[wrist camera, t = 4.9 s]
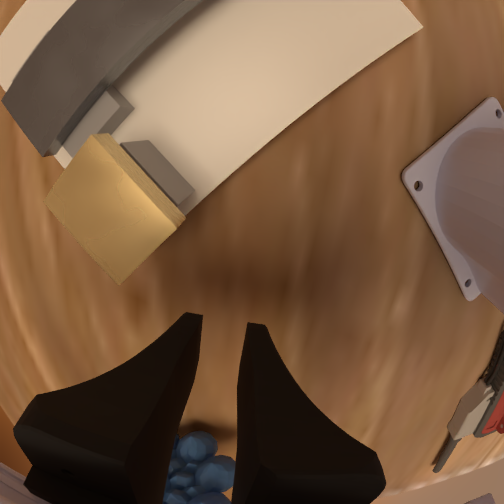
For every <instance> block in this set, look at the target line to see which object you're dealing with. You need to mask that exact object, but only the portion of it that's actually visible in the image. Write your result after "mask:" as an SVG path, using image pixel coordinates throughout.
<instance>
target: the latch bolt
mask: <svg viewBox="0 0 504 504" xmlns="http://www.w3.org/2000/svg"><path fill="white" fill-rule="evenodd" d="M43 202H44V203H45V204H46V206H47V207H48V208H49V209H50V210H51V212H52V213H53V214H54V215H55V216H56V218H57V219H58V220H59V221H60V222H61V224H62V225H63V226H64V227H65V228H66V229H67V231H68V232H69V233H70V234H71V235H72V236H73V237H74V239H75V240H76V241H77V242H78V243H79V244H80V245H81V246H82V248H83V249H84V250H85V251H86V252H87V253H88V254H89V255H90V256H91V257H92V258H93V260H94V261H95V262H96V263H97V264H98V265H99V266H100V267H101V268H102V269H103V270H104V271H105V272H106V273H107V274H108V275H109V276H110V277H111V278H112V279H113V280H114V281H115V282H116V284H117V285H118V286H119V285H120V284H121V283H122V282H123V281H124V280H125V279H126V278H127V277H128V276H129V275H130V274H131V273H132V272H133V271H134V270H135V269H136V268H137V267H138V266H139V265H140V264H141V263H142V262H143V261H144V260H145V259H146V258H147V257H148V256H149V255H150V254H151V253H152V252H153V251H154V250H155V249H156V248H157V247H158V246H159V245H161V244H162V243H163V242H164V241H165V240H166V239H167V238H168V237H169V236H170V235H171V234H172V233H173V232H174V231H175V230H176V229H177V228H178V227H179V226H180V225H181V224H182V222H183V221H184V220H185V219H186V217H185V216H184V214H183V213H182V212H181V211H180V210H179V209H178V208H177V207H176V206H175V205H174V204H173V203H172V202H171V201H170V200H169V198H168V197H167V196H166V195H165V194H164V193H163V192H162V191H161V190H160V189H159V188H158V187H157V186H156V184H155V183H154V182H153V181H152V180H151V179H150V178H149V177H148V176H147V175H146V174H145V173H144V171H143V170H142V169H141V168H140V167H139V166H138V165H137V164H136V163H135V162H134V161H133V159H132V158H131V157H130V156H129V155H128V154H127V153H126V152H125V151H124V150H123V149H122V147H121V146H120V145H119V144H118V143H117V142H116V141H115V140H114V139H113V137H112V136H111V135H110V134H109V133H104V134H91V135H90V137H89V138H88V139H87V140H86V142H85V143H84V144H83V146H82V147H81V148H80V149H79V151H78V152H77V153H76V155H75V156H74V157H73V159H72V160H71V162H70V163H69V164H68V166H67V167H66V168H65V170H64V171H63V173H62V174H61V176H60V177H59V179H58V180H57V181H56V183H55V184H54V186H53V187H52V189H51V190H50V192H49V194H48V195H47V197H46V198H45V200H44V201H43Z"/></svg>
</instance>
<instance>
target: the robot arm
mask: <svg viewBox="0 0 504 504" xmlns="http://www.w3.org/2000/svg"><path fill="white" fill-rule="evenodd" d="M496 111H497V114H498V116H496ZM402 181H403V183H404V185H405V186H406V188H407V189H408V191H409V193H410V194H411V196H412V198H413V199H414V201H415V202H416V204H417V206H418V208H419V209H420V211H421V213H422V214H423V216H424V218H425V220H426V221H427V223H428V225H429V227H430V228H431V230H432V232H433V234H434V236H435V238H436V240H437V241H438V243H439V245H440V247H441V249H442V251H443V253H444V255H445V257H446V259H447V261H448V263H449V265H450V267H451V269H452V271H453V273H454V275H455V277H456V280H457V282H458V284H459V286H460V288H461V291H462V293H463V295H464V297H465V298H466V299H467V300H468V301H472V300H474V299H475V298H476V297H477V296H478V295H479V294H480V293H482V294H483V295H484V296H485V297H486V298H487V299H488V300H489V301H490V302H492V303H493V304H494V305H495V306H496V307H497V308H498V309H499V310H500V311H501V312H502V313H503V314H504V112H503V110H502V108H501V106H500V104H499V102H498V100H497V99H496V98H495V97H488V98H486V99H485V100H484V101H483V102H482V103H481V104H480V105H479V106H477V107H476V108H475V109H474V110H473V111H472V112H471V113H469V114H468V115H467V116H466V117H465V118H464V119H463V120H461V121H460V122H459V123H458V124H457V125H456V126H455V127H453V128H452V129H451V130H450V131H449V132H448V133H447V134H445V135H444V136H443V137H442V138H441V139H440V140H438V141H437V142H436V143H435V144H434V145H432V146H431V147H430V148H429V149H428V150H427V151H425V152H424V153H423V154H422V155H421V156H420V157H418V158H417V159H416V160H415V161H414V162H412V163H411V164H410V165H409V166H408V167H406V168H405V169H404V171H403V173H402ZM416 181H419V188H418V189H417V190H415V189H414V184H415V182H416ZM467 280H468V282H467V283H466V284H465V282H466V281H467ZM202 320H203V315H200V314H194V313H188V312H186V313H184V314H183V315H182V316H181V317H180V318H179V319H178V320H177V321H176V322H175V323H174V324H173V325H172V326H171V327H170V328H169V329H168V330H167V331H166V332H164V333H163V334H162V335H161V336H160V337H159V338H158V339H156V340H155V341H154V342H153V343H152V344H150V345H149V346H148V347H146V348H145V349H144V350H142V351H141V352H140V353H138V354H137V355H136V356H134V357H133V358H131V359H130V360H128V361H126V362H125V363H123V364H121V365H120V366H118V367H116V368H114V369H112V370H111V371H108V372H106V373H104V374H102V375H100V376H98V377H96V378H93V379H91V380H88V381H86V382H83V383H80V384H77V385H74V386H71V387H68V388H64V389H60V390H56V391H52V392H48V393H43V394H38V395H36V396H35V397H34V399H33V400H32V401H31V402H30V403H29V405H28V406H27V408H26V409H25V411H24V412H23V414H22V416H21V417H20V419H19V420H18V422H17V423H16V425H15V426H14V428H13V432H14V436H15V439H16V440H17V442H18V444H19V446H20V447H21V449H22V450H23V452H24V453H25V455H26V456H27V458H28V459H29V461H30V462H31V464H32V465H33V466H32V468H31V470H30V472H29V473H28V475H27V477H25V476H23V475H21V474H19V473H18V472H16V471H14V470H12V469H11V468H9V467H7V466H6V465H4V464H2V463H1V462H0V504H162V503H163V497H164V492H165V486H166V480H167V475H168V470H169V465H170V460H171V455H172V450H173V446H174V441H175V437H176V433H177V430H178V426H179V424H180V421H181V418H182V415H183V412H184V409H185V406H186V403H187V400H188V398H189V395H190V392H191V389H192V386H193V383H194V379H195V375H196V370H197V366H198V361H199V353H200V341H201V330H202ZM385 486H386V480H385V476H384V472H383V469H382V466H381V463H380V461H379V459H378V456H377V454H376V452H375V451H373V450H372V449H370V448H368V447H367V446H365V445H364V444H362V443H360V442H359V441H357V440H356V439H354V438H353V437H351V436H350V435H348V434H347V433H346V432H345V431H343V430H342V429H341V428H339V427H338V426H337V425H336V424H334V423H333V422H332V421H331V420H330V419H329V418H328V417H327V416H326V415H325V414H323V413H322V412H321V411H320V410H319V409H318V408H317V407H316V406H315V405H314V404H313V403H312V401H311V400H310V399H309V398H308V397H307V396H306V394H305V393H304V392H303V391H302V389H301V388H300V387H299V385H298V384H297V383H296V381H295V380H294V378H293V377H292V375H291V374H290V372H289V371H288V369H287V368H286V366H285V364H284V362H283V361H282V359H281V357H280V355H279V353H278V352H277V350H276V348H275V345H274V343H273V341H272V339H271V337H270V334H269V332H268V329H267V327H266V326H265V325H263V324H256V323H249V322H248V323H247V329H246V334H245V340H244V345H243V350H242V356H241V361H240V367H239V376H238V384H237V453H236V463H235V473H234V482H233V492H232V500H231V504H370V503H371V502H372V501H373V500H375V499H376V498H377V497H378V496H379V495H380V494H381V492H382V491H383V490H384V488H385ZM465 504H495V502H494V499H493V497H492V495H491V494H490V493H488V494H486V495H484V496H481V497H479V498H476V499H474V500H471V501H469V502H467V503H465Z"/></svg>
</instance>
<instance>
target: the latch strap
mask: <svg viewBox="0 0 504 504" xmlns="http://www.w3.org/2000/svg"><path fill="white" fill-rule="evenodd" d="M201 1H203V0H76V1H75V2H74V3H73V4H72V5H71V6H70V8H69V9H68V10H67V11H66V12H65V13H64V14H63V15H62V17H61V18H60V19H59V20H58V21H57V22H56V23H55V25H54V26H53V27H52V28H51V30H50V31H49V32H48V33H47V34H46V36H45V37H44V38H43V40H42V41H41V42H40V43H39V45H38V46H37V47H36V49H35V50H34V51H33V53H32V54H31V56H30V57H29V58H28V60H27V61H26V63H25V64H24V65H23V67H22V68H21V70H20V71H19V73H18V74H17V76H16V77H15V79H14V81H13V82H12V84H11V85H10V87H9V89H8V90H7V92H6V93H5V95H4V97H3V99H2V100H1V101H2V103H3V104H4V106H5V107H6V108H7V110H8V111H9V113H10V114H11V115H12V117H13V118H14V120H15V121H16V122H17V124H18V125H19V127H20V128H21V129H22V131H23V132H24V133H25V135H26V136H27V137H28V139H29V140H30V141H31V143H32V144H33V145H34V147H35V148H36V149H37V150H38V152H39V153H40V154H41V156H42V157H46V156H51V155H56V154H57V153H58V151H59V150H60V148H61V147H62V145H63V144H64V143H65V141H66V140H67V138H68V137H69V136H70V134H71V133H72V132H73V130H74V129H75V128H76V126H77V125H78V124H79V122H80V121H81V120H82V119H83V117H84V116H85V115H86V114H87V112H88V111H89V110H90V109H91V107H92V106H93V105H94V104H95V103H96V101H97V100H98V99H99V98H100V97H101V96H102V94H103V93H104V92H105V91H106V90H107V89H108V88H109V87H110V86H111V84H112V83H113V82H114V81H115V80H116V79H117V78H118V77H119V76H120V75H121V74H122V73H123V72H124V70H125V69H126V68H127V67H128V66H129V65H130V64H131V63H132V62H133V61H134V60H135V59H136V58H137V57H138V56H139V55H140V54H141V53H142V52H143V51H144V50H145V49H146V48H147V47H149V46H150V45H151V44H152V43H153V42H154V41H155V40H156V39H157V38H158V37H159V36H160V35H162V34H163V33H164V32H165V31H166V30H167V29H168V28H169V27H171V26H172V25H173V24H174V23H175V22H177V21H178V20H179V19H180V18H181V17H183V16H184V15H185V14H186V13H187V12H189V11H190V10H191V9H192V8H194V7H195V6H196V5H198V4H199V3H200V2H201Z"/></svg>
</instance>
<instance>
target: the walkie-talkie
mask: <svg viewBox="0 0 504 504" xmlns="http://www.w3.org/2000/svg"><path fill="white" fill-rule="evenodd" d="M495 351H496V352H495V354H494V355H493V356H494V357H493V359H492V361H491V364H490V366H489V367H490V368H489V369H488V373H487V374H486V377H484V378H481V379H479V380H478V382H477V383H476V384H475V385H474V386H473V387H472V388H471V389H470V390H469V391H468V392H467V393H466V394H465V395H464V396H463V397H462V398H461V400H460V403H459V405H458V407H457V409H456V411H455V414H454V416H453V418H452V420H451V421H450V422H449V424H448V426H447V428H448V430H449V432H450V434H451V435H450V439H449V441H448V443H447V444H446V446H445V448H444V450H443V451H442V453H441V455H440V457H439V460H438V462H437V464H436V465H435V467H434V469H433V472H434V473H438V472H439V471H440V470H441V469H442V467H443V466H444V464H445V463H446V461H447V459H448V458H449V456H450V455H451V453H452V451H453V450H454V448H455V446H456V444H457V443H458V442H459V441H460V440H461V439H462V437H465V436H468V435H470V434H474V436H475V437H484V436H486V435H488V434H490V433H493V432H495V431H498V432H499V433H500V434H502V433H504V330H503V331H502V333H501V337H500V338H499V343H498V344H497V349H496V350H495Z"/></svg>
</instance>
